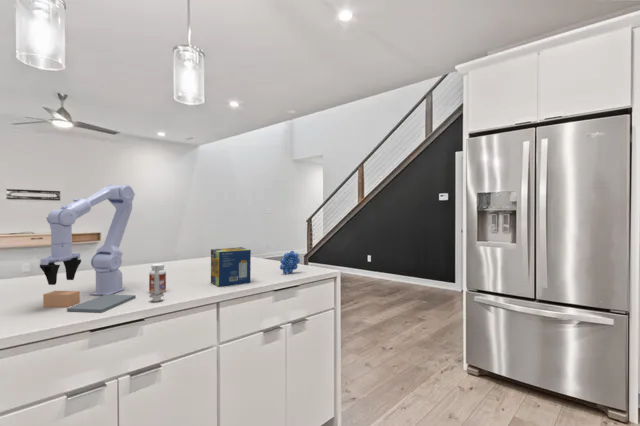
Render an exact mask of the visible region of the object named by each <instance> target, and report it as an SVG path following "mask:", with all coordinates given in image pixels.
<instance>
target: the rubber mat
mask: <svg viewBox="0 0 640 426" xmlns="http://www.w3.org/2000/svg"><path fill="white" fill-rule="evenodd" d="M136 298H137V297H136V295H134V294H132V295H131V294H111V295H107V294H105V295H99V296H98V297H94V298H92V299H89V300H86V301H83V302H81V303H79V304H76V305H73V306H71V307H66V312H69V313H70V312H74V313H102V314H103V313H104V312H106V311H108V310H111V309H114V308H115V307H118V306H121V305H123V304H125V303H127V302H129V301H132V300H135V299H136ZM120 304H121V305H120Z"/></svg>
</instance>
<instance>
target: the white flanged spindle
mask: <svg viewBox="0 0 640 426" xmlns="http://www.w3.org/2000/svg"><path fill="white" fill-rule="evenodd" d="M159 275H160V274H159V267H158V266H156V267H155V275H154V293H151V294H150V295H149V298H151V299H152V302H154V303H159V302H160V301H162V297H164V296H165V294H164V292H161V293H159V286H160V285H159V283H160V282H159V278H160V277H159Z"/></svg>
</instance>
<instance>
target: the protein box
mask: <svg viewBox="0 0 640 426" xmlns="http://www.w3.org/2000/svg"><path fill="white" fill-rule="evenodd" d="M251 255H252V251H251V249H248V248H245V247H243V246H242V247H241V246H240V247H237V246H236V247H227V248H211V249H210V283H211V284H213V285H215V286H216V287H218V288H220V287H222V288H223V287H229V286H230V287H231V286H237V285H242V284H243V285H244V284H251V268H252V267H251V266H252V265H251V263H252V262H251V260H252V259H251V258H252V257H251Z"/></svg>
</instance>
